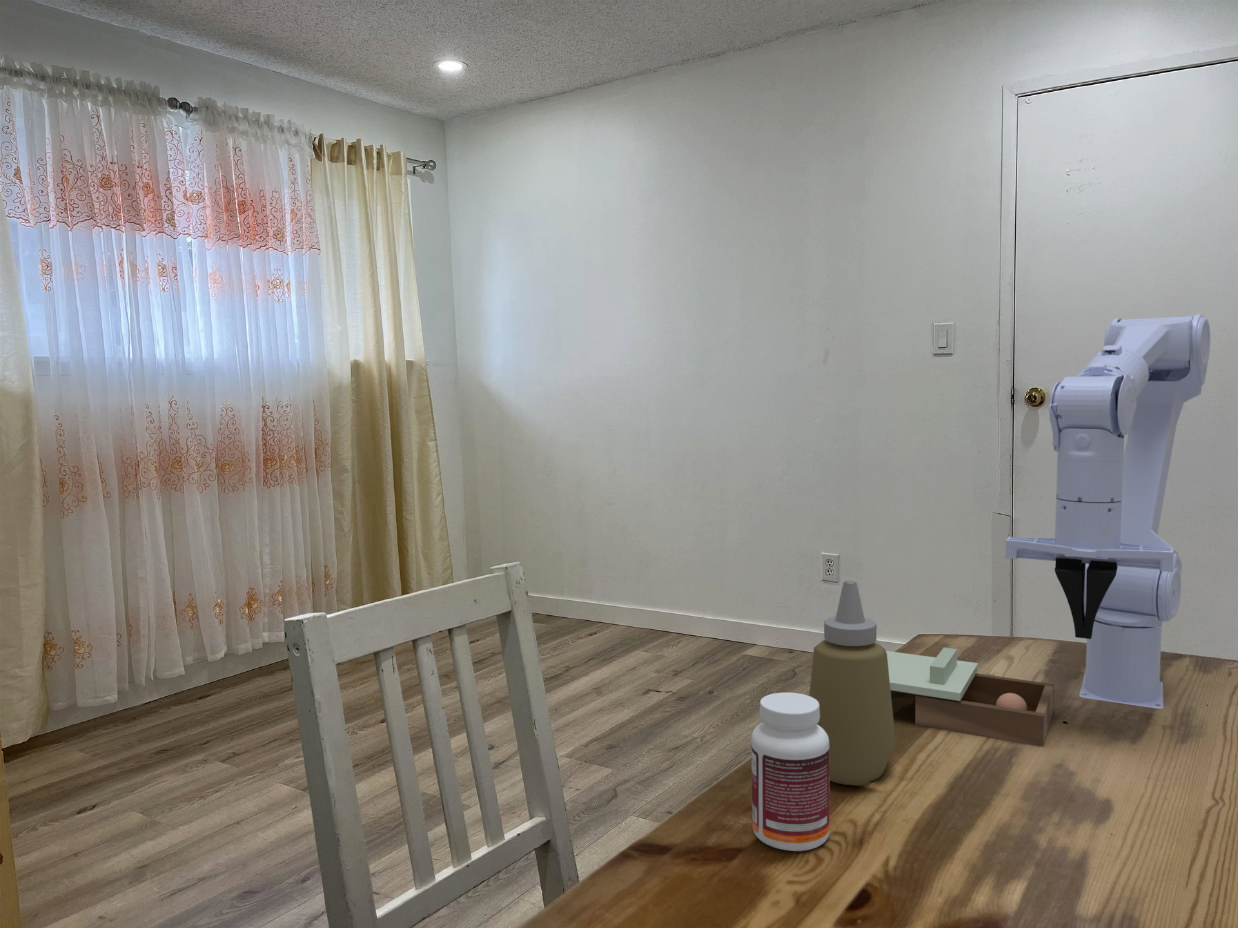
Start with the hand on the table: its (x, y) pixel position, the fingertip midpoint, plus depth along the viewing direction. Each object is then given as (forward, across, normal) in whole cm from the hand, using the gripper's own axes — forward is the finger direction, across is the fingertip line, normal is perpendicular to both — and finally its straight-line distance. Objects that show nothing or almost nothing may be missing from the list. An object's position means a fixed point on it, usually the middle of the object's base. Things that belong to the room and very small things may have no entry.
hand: (1083, 635), depth 90 cm
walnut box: (+10, -9, 0) cm, 14 cm away
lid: (+7, -17, 0) cm, 18 cm away
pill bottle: (+11, -19, -31) cm, 38 cm away
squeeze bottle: (+11, -18, -18) cm, 28 cm away
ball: (+10, -6, 0) cm, 12 cm away
